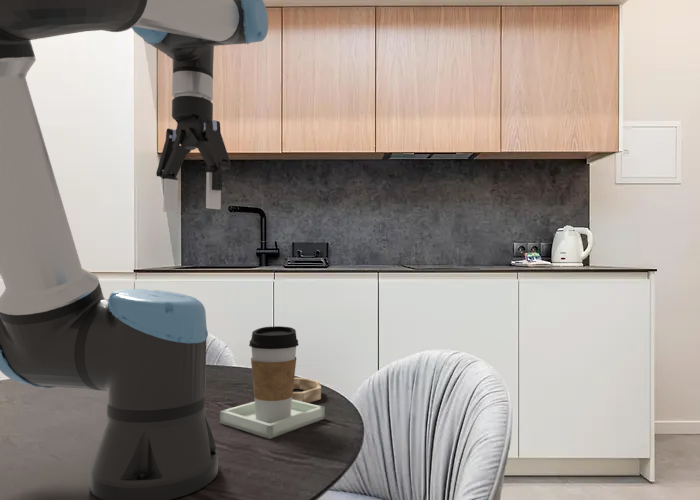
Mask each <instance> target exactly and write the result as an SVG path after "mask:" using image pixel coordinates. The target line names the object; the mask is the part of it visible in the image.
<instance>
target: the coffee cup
mask: <svg viewBox="0 0 700 500" xmlns="http://www.w3.org/2000/svg"><path fill="white" fill-rule="evenodd" d="M248 347H250V348H251V358H250V361H251V362H250V363H251V374H252V375H251V376H252V385H253V388H252V389H253V397H254V401H255V416H256V419H257V420H259V421H263V422H268V423H273V422H276V421H279V420H282V419H285V418H288V417H290V416H291V404H292V395H293V392H294V389H293V386H294V378H295V376H296V375H295V373H296V367H297V365H296V364H297V356H296V351H297V347H299V340H298V338H297V331H296V329H295V328H294V327H288V326H264V327H260V328H256V329H254V330H252V332H251V339H250V340H249V345H248Z"/></svg>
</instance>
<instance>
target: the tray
mask: <svg viewBox="0 0 700 500" xmlns="http://www.w3.org/2000/svg"><path fill="white" fill-rule="evenodd" d="M325 411H326V410H325V406H322V405H317V404H313V403H311V402H310V403H306V402H302V401H297V400H293V399H292V404H291V416H290V417H288V418H285V419H282V420H279V421H276V422H273V423H268V422H263V421H259V420H257V419H256V416H255V400H254V401H250V402H247V403H244V404H240V405H237V406H233V407H229V408H227V409H226V408H225V409H222V410H220V411H219V424H222V425H224V426H228V427H231V428H234V429H236V430H241V431H243V432H247V433H250V434H253V435H256V436H259V437H262V438H265V439H269V440H270V439H274V438H276V437H279V436H282V435H284V434H287V433H289V432H292V431H295V430H297V429H300V428H303V427H306V426H308V425H311V424H314V423H317V422H319V421H322V420H324V419H325V417H326V416H325V414H326V413H325Z"/></svg>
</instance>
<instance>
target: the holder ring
mask: <svg viewBox="0 0 700 500" xmlns="http://www.w3.org/2000/svg"><path fill="white" fill-rule="evenodd" d="M293 390H302V391H293V395H292V399H293V400H297V401H302V402H306V403H310V404H311V403H313V402H315V401H318V400H321V399H322V386H321V383H320V381H319V380H314V379H309V378H304V377H294V386H293Z"/></svg>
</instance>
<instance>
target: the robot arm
mask: <svg viewBox="0 0 700 500" xmlns="http://www.w3.org/2000/svg"><path fill="white" fill-rule="evenodd" d="M130 29H132V31H133V32H134V33H135V34H136V35H137V36H139V37H140V38H141V39H142V40H143V41H144V42H145V43H147V44H148V45H150V46H152V47H154V49H156V50H158V51H160V52H162V53H163V54H164V55H166V56H167V57H168V58H170V59H172V74H171V75H172V76H171V77H172V78H171V79H172V81H171V96H172V97H173V99H172V100H171V117H172V119H173V120H175V122H176V128H175V129H173V128H166V132H165V142H164V145H163V148H162V151H161V155H160V159H159V162H158V166H157V169H156V177H160V178H161V179H162V181H163V185H162V187H163V189H162V192H163V208H162V210H163V212H164V213H173V214H175V213H176V214H177V213H178V212H179V211H178V207H179V204H178V201H179V178H178V177H177V175H178V174H179V171H180V169H181V168H182V165H183V163H184V161H185V159H186V157H187V155H188V154H189V153H190V154H191V152H192V151H193V150H195V149H197V150H198V151H199V154H200V155H201V157H202V159H203V160H204V162H205V165H206V166H207V169H206V171H207V172H206V173H205V174H206V178H205V179H206V180H205V181H206V184H205V186H206V187H205V188H206V189H205V190H206V191H205V208H206V209H211V210H212V209H213V210H221V209H222V208H221V206H222V189H223V173H225V170H229V169H231V167H232V163H231V161H230V156H229V154H228V152H227V151H228V150H227V148H226V145H225V142H224V139H223V136H222V133H221V121H218V120H215V119H214V116H213V115H214V114H213V112H214V104H213V102H212V100H214V99H213V98H214V95H213V94H214V93H213V92H214V56H215V55H214V53H215V46H216V47H217V46H230V45H231V46H232V45H243V44H244V45H250V44H253V43H259V42H263V41H264V40H265V39H266V37H267V35H268V31H269V17H268V11H267V8H266V5H265V3H264V1H263V0H0V275H1V278H2V281H3V283H4V287H5V289H4V291H3V292H2V294H1V295H0V372H1V373H2V374H3V375H4V376H6V377H7V378H9V379H10V380H12V381H14V382H17V383H19V384H24V385H31V386H32V387H36V388H38V387H39V388H44V389H51V388H53V389H54V388H62V389H63V388H64V389H76V390H77V389H79V390H90V391H91V390H92V391H101V392H102V391H103V392H107V396H106V397H107V399H106V400H107V401H106V402H107V403H106V404H107V406H106V407H107V408H106V423H105V425H104V427H103V431H102V434H101V437H100V439H99V443H98V445H97V448H96V451H95V454H94V457H93V459H92V463H91V465H90V469H89V491H90V493H92V495H94V496H95V497H96V498H98V499H100V500H174V499H178V498H181V497H185V496H188V495H190V494H193V493H195V492H198V491H199V490H201V489H202V488H205V487H206V486H207V485H209V484H210V483H212V481H213V480H215V478H216V477H217V475H218V472H219V451H218V448H217V446H216V442H215V440H214V435H213V433H212V430H211V426H210V424H209V420H208V418H207V414H206V379H207V378H206V376H207V374H206V373H207V339H208V335H209V334H208V329H207V315H206V309H205V306H204V304H203V302H202V301H200V300H199V299H197V298H195V297H193V296H191V295H187V294H185V293H184V294H183V293H179V292H174V291H172V292H171V291H165V290H158V289H157V290H155V289H154V290H153V289H143V288H142V289H141V288H125V289H122V288H121V289H117V290H114V291H112V292H111V293H110V294H109V298H108V299H106V298H105V297H104V294H103V290H102V287H101V284H100V280H99V277H98V276H97V275H96V274H94V273H93V272H91V271H88V270H86V269H84V268H83V266H82V264H81V261H80V258H79V254H78V250H77V247H76V244H75V240H74V237H73V234H72V231H71V228H70V227H71V226H70V224H69V223H70V222H69V219H68V217H67V214H66V211H65V206H64V204H63V200H62V197H61V193H60V190H59V187H58V186H59V185H58V184H57V179H56V176H55V173H54V169H53V166H52V163H51V159H50V156H49V154H48V149H47V146H46V143H45V140H44V136H43V132H42V129H41V125H40V123H39V118H38V116H37V113H36V112H37V111H36V109H35V105H34V102H33V100H32V95H31V92H30V88H29V84H28V82H27V78H26V77H27V74H28V73H29V71H30V69H31V68H32V66H33V65H34V64H35V62H36V61H37V59H36V55H35V51H34V48H33V45H32V41H33V40H34V41H35V40H38V39H39V40H40V39H47V38H51V37H52V38H53V37H58V36H64V35H69V34H70V35H71V34H76V33H83V32H92V31H93V32H96V31H105V32H111V33H121V32H126V31H128V30H130Z"/></svg>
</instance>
